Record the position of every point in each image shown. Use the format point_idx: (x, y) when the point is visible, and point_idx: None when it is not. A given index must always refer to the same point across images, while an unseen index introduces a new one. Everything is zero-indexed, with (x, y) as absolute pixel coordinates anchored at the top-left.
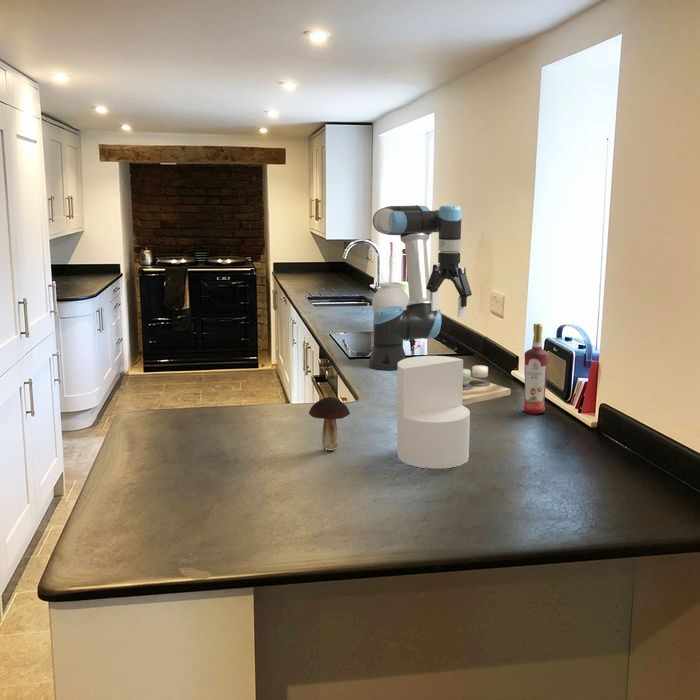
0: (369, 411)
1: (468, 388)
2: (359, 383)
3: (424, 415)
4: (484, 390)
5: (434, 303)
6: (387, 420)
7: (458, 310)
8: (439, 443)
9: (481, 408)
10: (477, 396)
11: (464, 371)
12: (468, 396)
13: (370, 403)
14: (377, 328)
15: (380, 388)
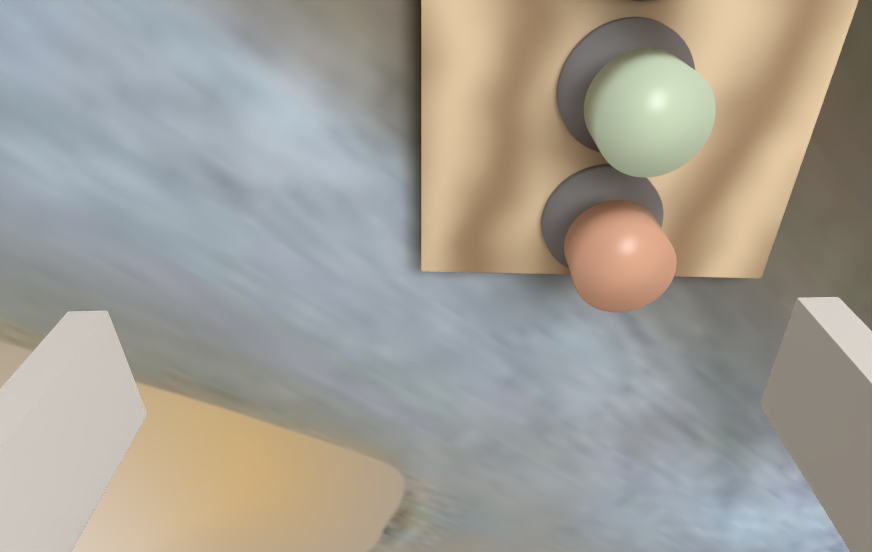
0: (532, 506)
1: None
2: (164, 362)
3: None
4: (774, 18)
5: (73, 491)
6: (648, 513)
7: (822, 485)
8: None
9: (863, 191)
10: (806, 147)
11: (682, 131)
12: (765, 186)
13: (456, 465)
14: None
15: (288, 340)
